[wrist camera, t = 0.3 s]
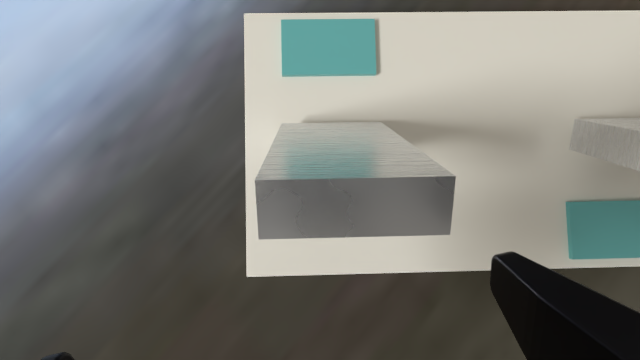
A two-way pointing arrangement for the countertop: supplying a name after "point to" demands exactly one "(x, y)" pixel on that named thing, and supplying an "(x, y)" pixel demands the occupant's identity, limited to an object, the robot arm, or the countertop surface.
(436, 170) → the left lever
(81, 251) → the countertop surface
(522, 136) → the switch panel
